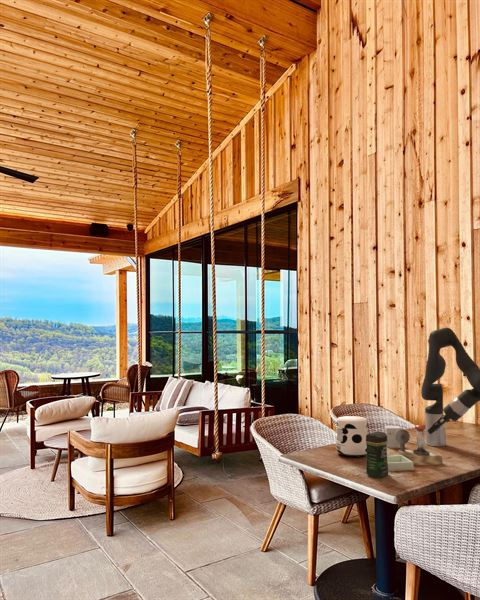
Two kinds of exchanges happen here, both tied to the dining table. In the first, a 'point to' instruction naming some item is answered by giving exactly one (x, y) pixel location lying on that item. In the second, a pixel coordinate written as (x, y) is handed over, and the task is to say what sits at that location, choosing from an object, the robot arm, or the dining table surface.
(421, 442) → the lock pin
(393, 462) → the tray
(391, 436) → the small box
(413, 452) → the block
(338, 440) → the white printed canister
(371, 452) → the coffee jar
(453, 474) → the dining table surface
